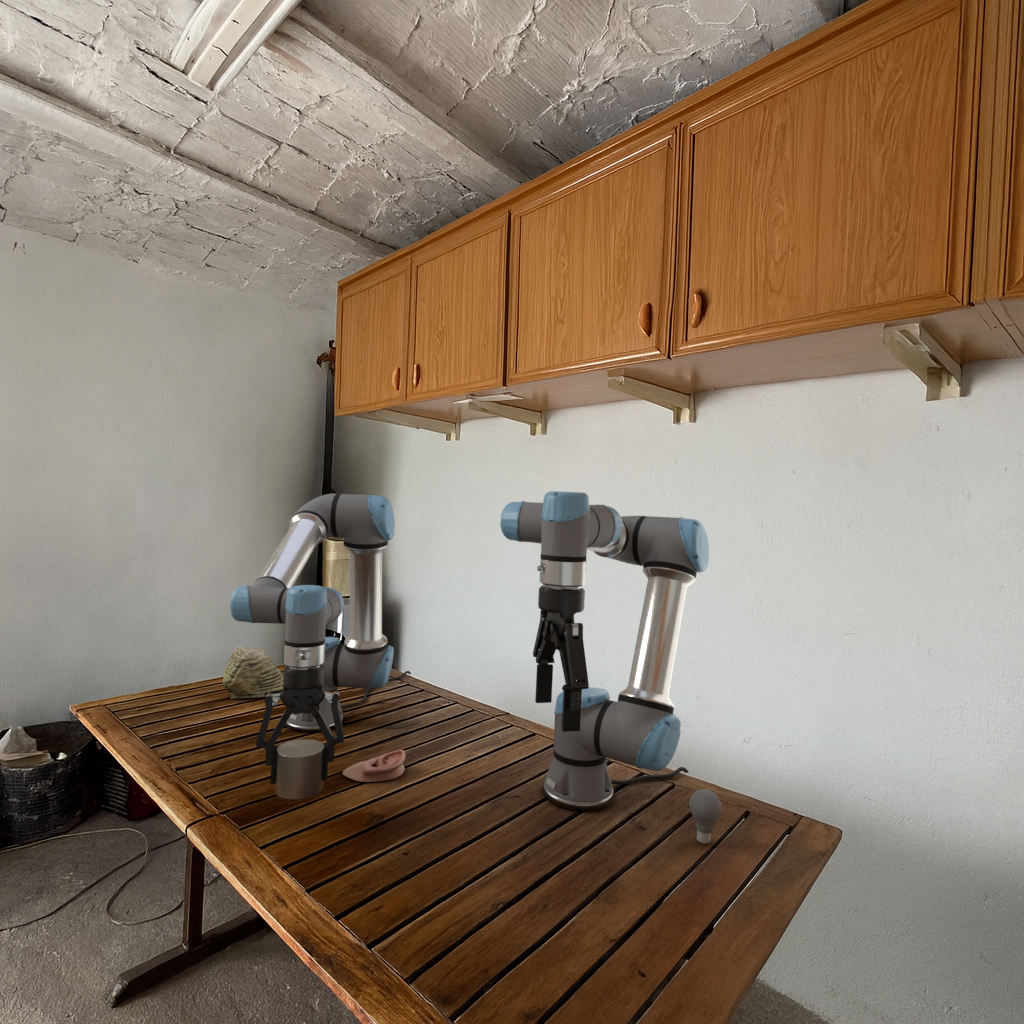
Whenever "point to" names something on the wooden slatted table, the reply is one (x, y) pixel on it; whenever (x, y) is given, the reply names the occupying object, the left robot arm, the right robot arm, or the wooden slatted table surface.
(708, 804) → the light bulb
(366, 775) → the anatomical model
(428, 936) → the wooden slatted table surface
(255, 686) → the fossil
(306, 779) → the can
